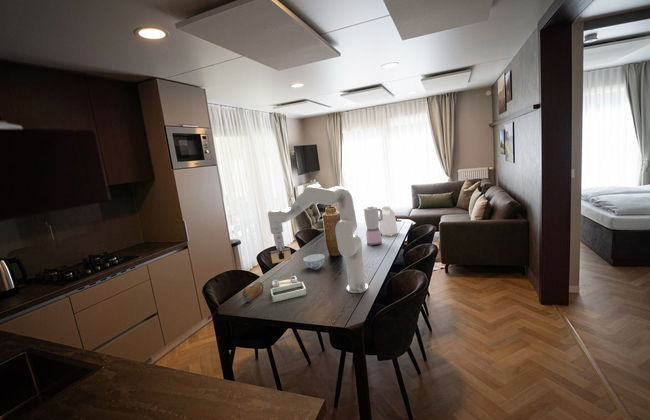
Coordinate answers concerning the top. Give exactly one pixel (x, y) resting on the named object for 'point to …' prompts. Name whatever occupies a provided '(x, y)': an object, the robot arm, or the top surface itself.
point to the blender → (373, 225)
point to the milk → (388, 222)
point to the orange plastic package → (252, 291)
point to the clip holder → (284, 282)
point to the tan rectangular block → (276, 257)
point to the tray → (288, 294)
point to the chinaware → (314, 261)
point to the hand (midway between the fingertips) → (281, 258)
